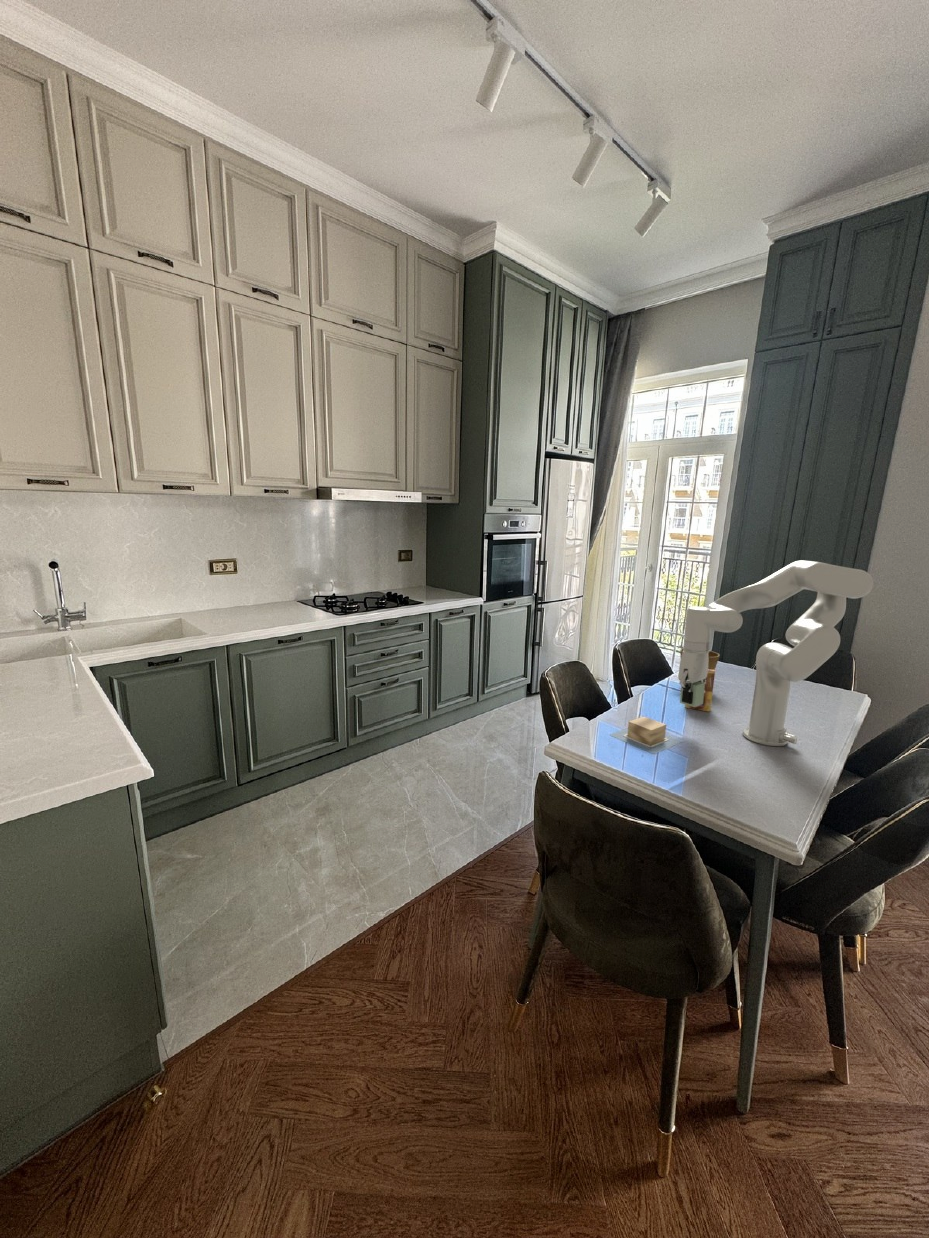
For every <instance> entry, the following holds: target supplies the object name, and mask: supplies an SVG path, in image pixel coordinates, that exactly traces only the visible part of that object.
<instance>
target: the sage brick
mask: <svg viewBox="0 0 929 1238" xmlns="http://www.w3.org/2000/svg"><path fill="white" fill-rule="evenodd" d="M687 681H689V682H690V680H687ZM687 685H688V686H690V684H689V683H687ZM704 688H705V683H703V682H699V681H698V682H695V683H694V684H693V688H692V692H693V699H692V704H688V703H685V702H682V692H683V690H682V687H681V688H680V696H679V697H680V699H679V704H682V705H684V706H685V705H689V706H692V707H697V706H699V705H702V704H703V698H704Z"/></svg>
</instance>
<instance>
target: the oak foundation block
mask: <svg viewBox="0 0 929 1238" xmlns="http://www.w3.org/2000/svg"><path fill="white" fill-rule="evenodd" d="M627 726H628V727H627V728H628V734H627V737H630V738H632V739H635V740H637V741H639V742H642V743H644V744H647V745H649V746H650V745H653V744H655V743H658V742H660V741H663V740H665V734H666V731H667V724H666V723H663V722H661V721H657V720H655V719H652V718H649V717H647V716H641V717H638V718H635V719H633V720H629V721H628V725H627Z"/></svg>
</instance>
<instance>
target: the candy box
mask: <svg viewBox="0 0 929 1238" xmlns="http://www.w3.org/2000/svg"><path fill="white" fill-rule="evenodd" d="M715 674H716V669H715V670H712V669H708V674H707V677H706V679H705V681H704V683H705V688H704V698H703V704H702V705H699V706H697V707H692V706H689V705H685V704H684V708H687V709H692V710H698V711H704V712H711V709H712V700H713V693H714V692H713V691H714V684H715V676H716V675H715ZM688 680H689V679H688Z"/></svg>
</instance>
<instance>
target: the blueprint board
mask: <svg viewBox="0 0 929 1238" xmlns="http://www.w3.org/2000/svg"><path fill="white" fill-rule="evenodd" d="M627 734H628V727H626V728H625V729H621V730H619V731H615V732H613V733H610V734H609V736H610V737H613V738H615V739H617V740H619V741H622V742H624V743H627V744H628V745H630V746H634V747H636V748H639V749H641V750H642V751H646V752H648V753H650V754H653V755H656V754H658V753H660V752H662V751H665V750H668V749H670V748H672V747H674V746H676V745H679V744H681V743H683V742H684V741H683V740H680V739H678V738H675V737H673V736H670V735H668V734H666V733H665V740H663V741H660V742H658V743H655V744H653V745H650V746H649V745H647V744H644V743H642V742H639V741H637V740H635V739H632V738H630V737H627Z"/></svg>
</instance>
